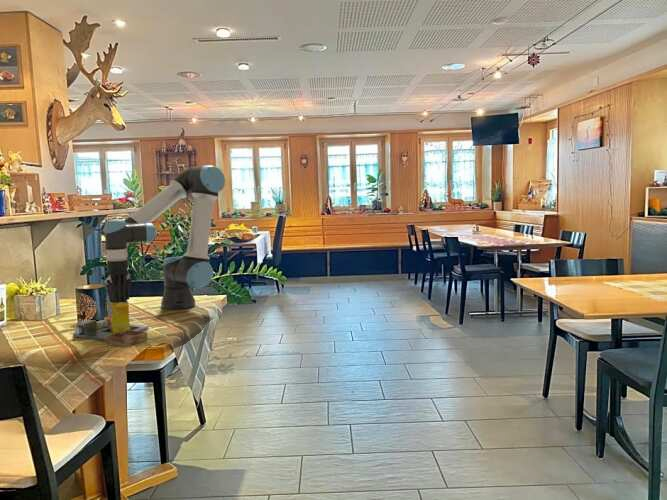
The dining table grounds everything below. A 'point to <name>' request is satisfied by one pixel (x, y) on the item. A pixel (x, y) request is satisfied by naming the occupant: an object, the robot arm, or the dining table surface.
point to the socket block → (100, 330)
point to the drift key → (102, 323)
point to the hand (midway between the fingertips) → (121, 318)
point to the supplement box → (120, 316)
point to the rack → (126, 338)
